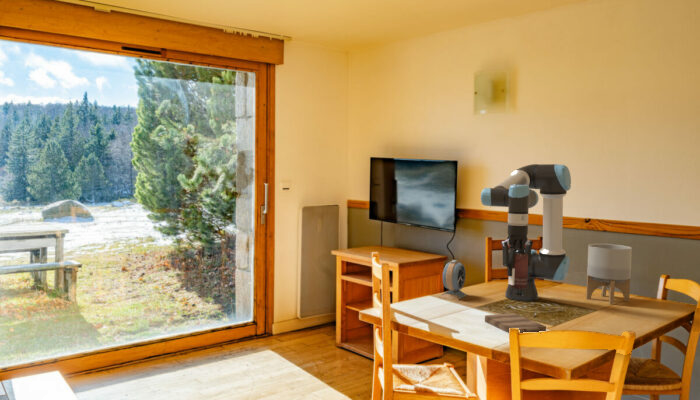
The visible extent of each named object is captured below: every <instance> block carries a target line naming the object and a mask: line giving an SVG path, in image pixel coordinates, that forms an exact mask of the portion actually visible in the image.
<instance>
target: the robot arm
mask: <svg viewBox="0 0 700 400" xmlns="http://www.w3.org/2000/svg"><path fill="white" fill-rule="evenodd" d="M571 184H572V176H571V172H570V168H569V167H568V166H567V165H565V164H557V163H553V164H552V163H551V164H549V163H548V164H544V163H542V164H540V163H539V164H537V163H534V164H528V165H524V166H522V167H519V168H517V169H515V170H514V171H513V172H511V173H510V175H509V177H507V178H506V179H504V180H503V181H502V182H500V183H498V184H497V185H496V186H494V187H484V188H483V189H482V191H481V193H480V202H481V204H482V205H483V206H487V207H491V208H492V207H496V208H497V207H500V208H508V209H507V224H508V225H507V235H508V236H507V237H506V239H505V240H501V242H500V244H501V247H502V266H503V267H505V268H506V271H507V272H506V274H507V275H506V276H508V283H507V287H506V290H505V291H504V292H505V294H504V295H505V296H504V297H505V298H507V299H510V300H514V301H522V302H531V301H537V300H538V299H539V293H538V289H537V285H536V281H535V280H536V279H544V280H550V281H559V282H560V281H564V280H565V279H566V278H567V275H568V272H569V268H570V261H571V260H570V257H569V256H568V255H566V254H567V253H566V251H565V249H563V226H564V225H563V222H564V221H563V217H564V216H563V213H564V211H563V210H564V197H565V196H566V195H567V194H568V193H567V191H570V190H571V188H572V185H571ZM536 190H539V194H538V193H537V191H536ZM539 195H540V196H542V247H541V248H540V249H539V251H538V252H537V251H536V250H535V249H532V247H533V245H534V241H533V240H529V239H528V236H527V235H528V233H529V226H528V224H529V211H530V210H529V209H531V208H533V207H535V206H536V205H537V204H538V202H539V199H540V198H539ZM516 252H518V253H520V254H523V253H524V254H525V253H527V254H528V276H527V288H526V289H524V290H518V289H513V288H512V287H511V285H514V276H515V268H513V264H514V259H515V254H516Z"/></svg>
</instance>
